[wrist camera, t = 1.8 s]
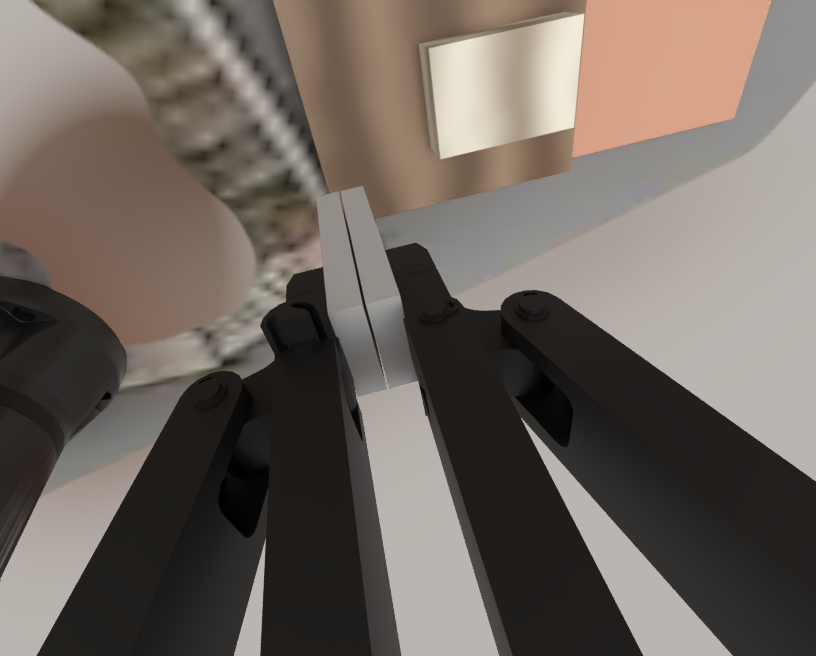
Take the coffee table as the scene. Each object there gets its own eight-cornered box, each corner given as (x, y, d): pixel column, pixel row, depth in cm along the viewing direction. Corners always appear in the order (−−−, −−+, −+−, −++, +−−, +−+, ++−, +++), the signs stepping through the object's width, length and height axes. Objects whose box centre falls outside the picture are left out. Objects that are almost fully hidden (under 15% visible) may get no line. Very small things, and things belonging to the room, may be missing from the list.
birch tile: (430, 148, 29) (440, 159, 27) (418, 43, 25) (428, 48, 23) (555, 118, 29) (574, 127, 27) (562, 12, 25) (584, 13, 23)
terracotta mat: (552, 159, 35) (555, 161, 35) (567, -89, 26) (572, -91, 25) (728, 116, 36) (733, 118, 36) (807, -139, 26) (816, -142, 26)
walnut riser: (335, 205, 34) (338, 227, 31) (271, -16, 25) (268, -17, 22) (546, 154, 35) (570, 170, 32) (559, -76, 26) (594, -85, 23)
